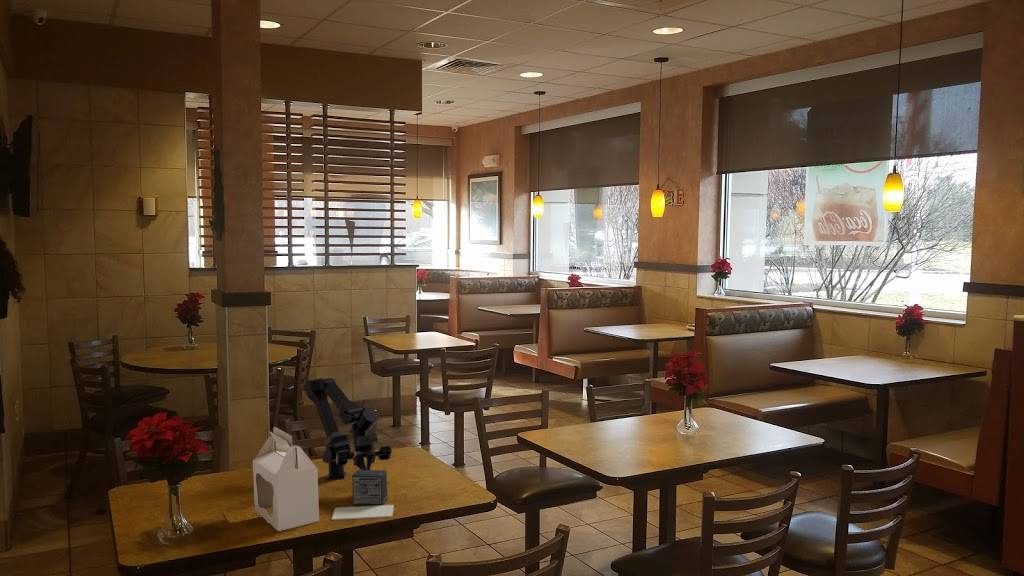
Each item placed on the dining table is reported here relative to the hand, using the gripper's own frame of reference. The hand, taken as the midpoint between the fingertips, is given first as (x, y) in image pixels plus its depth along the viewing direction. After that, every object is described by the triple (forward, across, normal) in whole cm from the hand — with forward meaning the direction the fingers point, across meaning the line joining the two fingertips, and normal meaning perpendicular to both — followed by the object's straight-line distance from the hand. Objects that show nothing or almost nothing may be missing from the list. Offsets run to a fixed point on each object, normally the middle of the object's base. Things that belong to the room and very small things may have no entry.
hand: (367, 477), depth 260 cm
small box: (+9, 0, +2) cm, 9 cm away
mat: (+15, -4, -4) cm, 16 cm away
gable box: (+10, -28, +1) cm, 29 cm away
